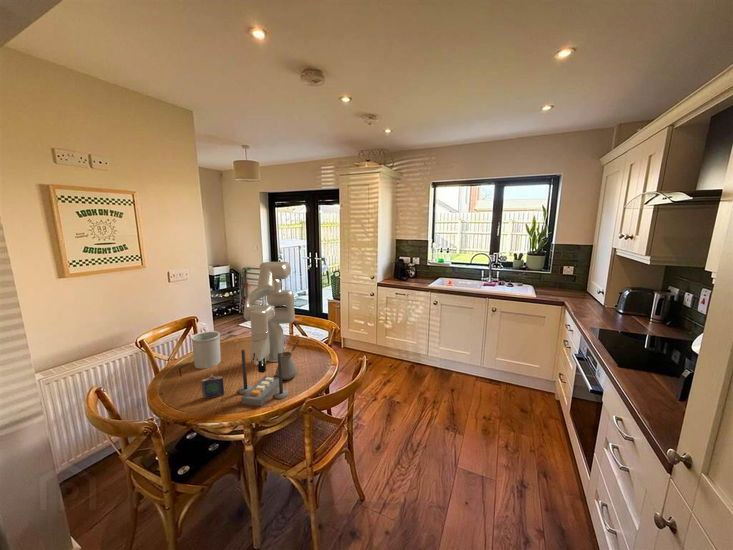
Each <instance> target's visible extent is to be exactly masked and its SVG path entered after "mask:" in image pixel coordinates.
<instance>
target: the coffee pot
mask: <svg viewBox="0 0 733 550" xmlns="http://www.w3.org/2000/svg"><path fill="white" fill-rule="evenodd" d="M299 344H300V340H299V339H297V341H296V342H295V343H294V345H293V347H292V350H291V351H284V352H283V353H281V360H282V381H288V380H291V379H293V378H294V377H296V375H297V374H298V373H297V372H298V369H297V367H296V364H295V362H294V361H293V359H292V355H293V352H294V351H295V349H296V347H297V345H299ZM274 373H275V377H278V378H279V372H278V366H277V368H276V369H275V372H274Z"/></svg>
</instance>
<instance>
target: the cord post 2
mask: <svg viewBox="0 0 733 550" xmlns="http://www.w3.org/2000/svg"><path fill="white" fill-rule="evenodd" d="M277 367H278V372H279V388H278V389H277V390H276V391H275V392H274V393H273V395H274V396H273V397H274V399H277V400H283V399H285V398H287V397H288V395H289V390H288V389H284V388H283V387H284V385H283V384H284V383H283V380H282V360H281V353H278V362H277Z"/></svg>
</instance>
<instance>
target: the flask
mask: <svg viewBox="0 0 733 550" xmlns="http://www.w3.org/2000/svg"><path fill="white" fill-rule="evenodd" d="M200 383H201V384H200V385H201V393H202V399H205V400H206V399H211V398H214V397H215V398H216V397H222V396H224V395H225V388H224V378H223V376H215V375H214V374H213V373H212V374H210V376H209V377H208V378H204V379H203V378H202V379H201V381H200Z"/></svg>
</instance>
